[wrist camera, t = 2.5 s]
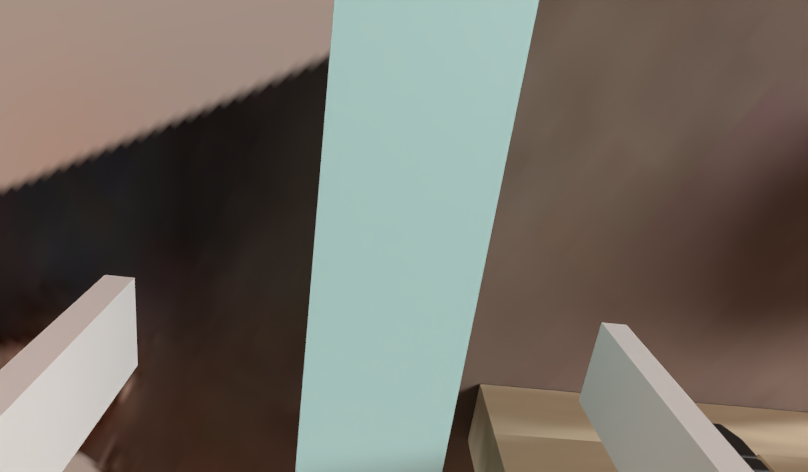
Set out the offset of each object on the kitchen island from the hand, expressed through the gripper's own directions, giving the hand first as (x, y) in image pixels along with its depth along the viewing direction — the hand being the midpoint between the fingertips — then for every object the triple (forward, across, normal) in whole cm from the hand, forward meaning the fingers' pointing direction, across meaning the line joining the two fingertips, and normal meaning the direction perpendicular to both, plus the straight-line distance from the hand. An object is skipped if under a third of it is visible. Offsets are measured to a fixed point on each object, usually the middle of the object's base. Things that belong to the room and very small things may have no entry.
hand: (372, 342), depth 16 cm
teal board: (+6, 0, 0) cm, 6 cm away
